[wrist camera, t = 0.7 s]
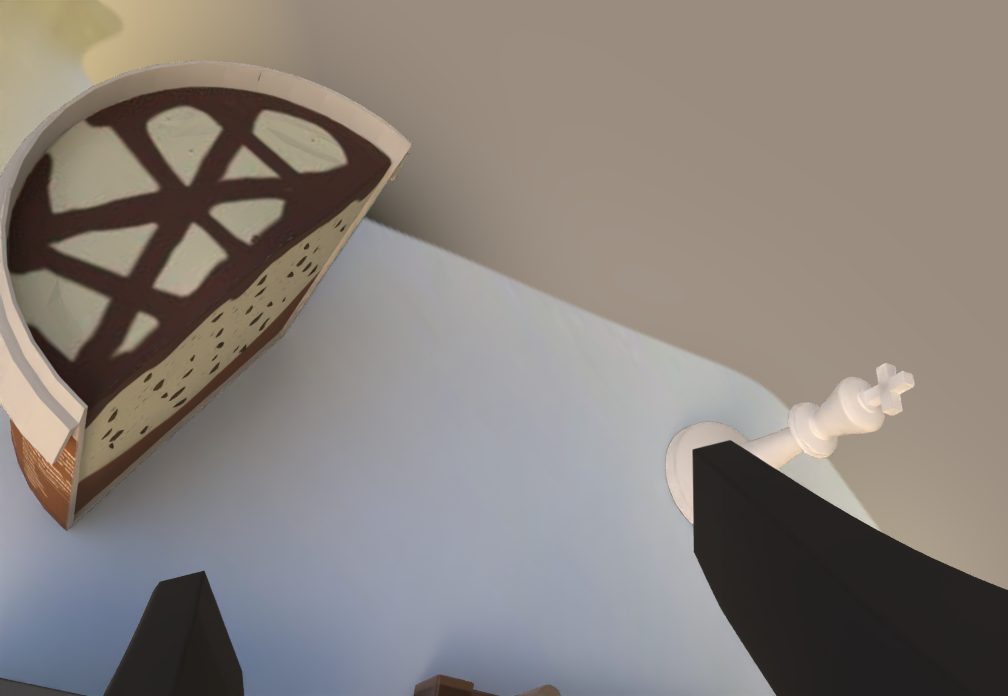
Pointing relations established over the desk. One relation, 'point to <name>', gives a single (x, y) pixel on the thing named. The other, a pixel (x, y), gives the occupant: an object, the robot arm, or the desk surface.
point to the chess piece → (794, 429)
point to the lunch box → (29, 689)
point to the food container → (166, 254)
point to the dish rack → (467, 688)
